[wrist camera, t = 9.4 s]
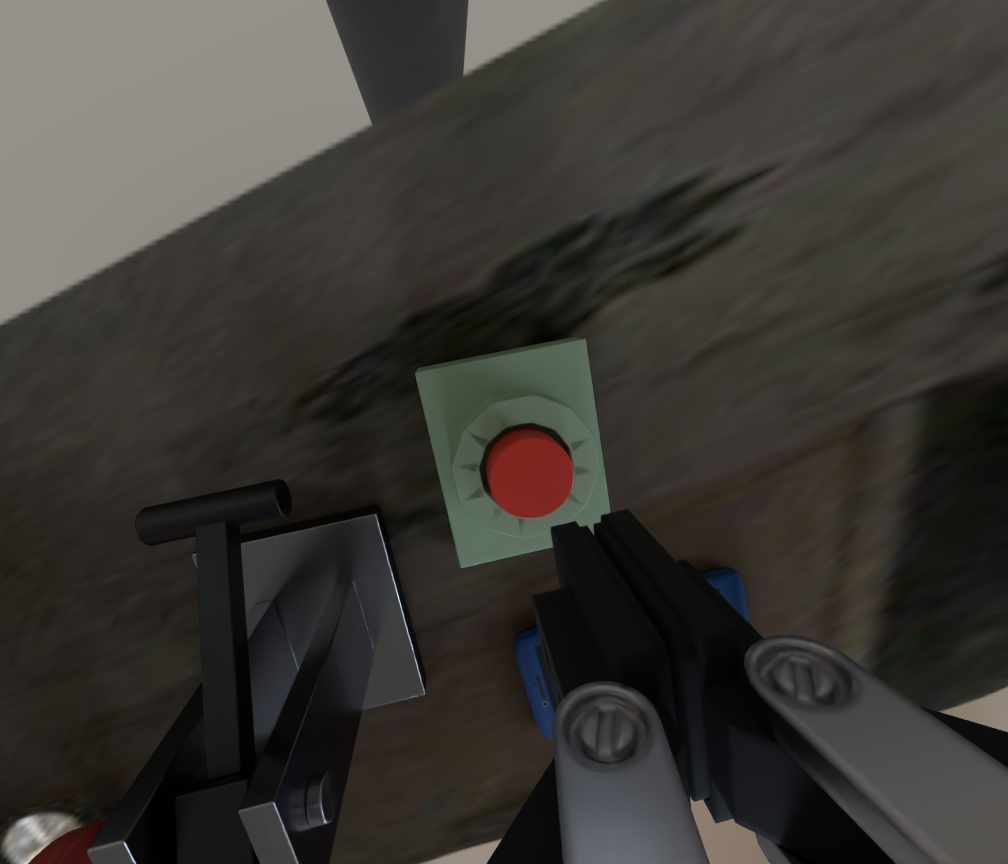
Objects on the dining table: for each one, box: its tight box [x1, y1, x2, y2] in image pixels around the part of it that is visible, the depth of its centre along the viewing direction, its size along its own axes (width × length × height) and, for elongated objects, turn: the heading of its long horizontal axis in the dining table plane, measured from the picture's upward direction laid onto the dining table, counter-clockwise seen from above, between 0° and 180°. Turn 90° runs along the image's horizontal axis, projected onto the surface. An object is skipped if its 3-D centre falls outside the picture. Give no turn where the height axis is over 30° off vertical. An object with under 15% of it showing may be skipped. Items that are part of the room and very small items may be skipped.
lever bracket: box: [87, 505, 426, 864], centre depth 20 cm, size 11×9×13 cm
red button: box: [486, 429, 574, 519], centre depth 21 cm, size 4×4×2 cm
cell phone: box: [514, 568, 750, 738], centre depth 28 cm, size 7×14×1 cm, turn 105°
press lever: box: [135, 479, 292, 864], centre depth 16 cm, size 12×5×2 cm
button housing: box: [415, 337, 610, 568], centre depth 23 cm, size 10×8×4 cm
